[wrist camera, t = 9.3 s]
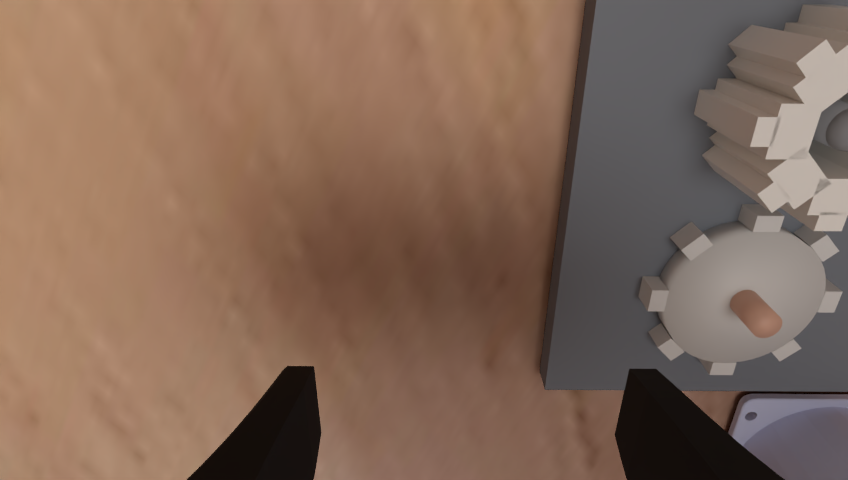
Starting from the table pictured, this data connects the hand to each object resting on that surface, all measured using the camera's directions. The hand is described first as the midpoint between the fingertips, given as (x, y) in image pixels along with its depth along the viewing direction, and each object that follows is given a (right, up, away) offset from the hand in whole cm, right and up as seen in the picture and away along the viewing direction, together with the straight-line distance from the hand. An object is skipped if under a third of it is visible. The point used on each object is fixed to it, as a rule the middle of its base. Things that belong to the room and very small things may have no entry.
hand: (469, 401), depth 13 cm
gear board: (+11, +9, +6) cm, 15 cm away
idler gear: (+11, +8, +5) cm, 14 cm away
